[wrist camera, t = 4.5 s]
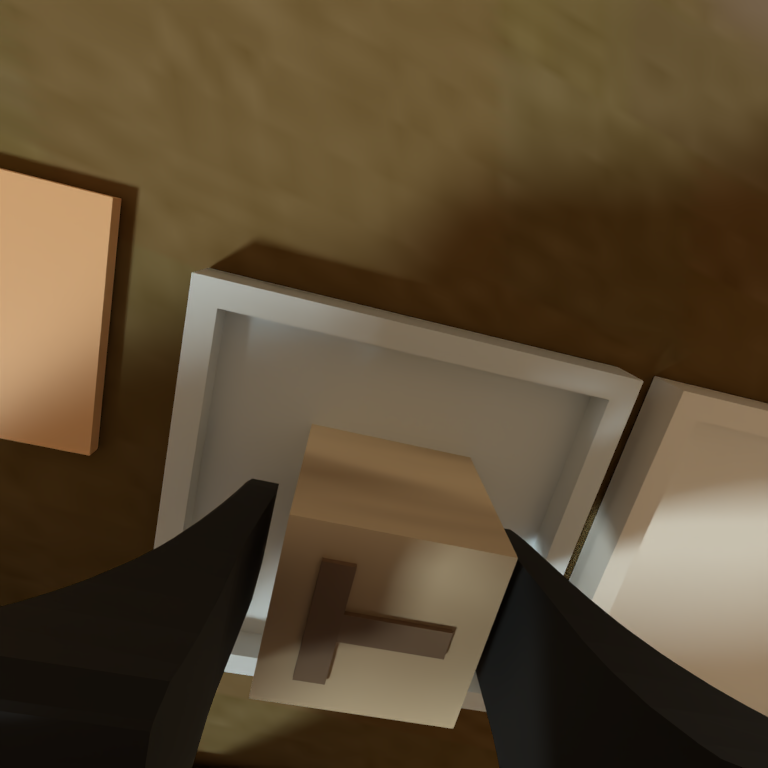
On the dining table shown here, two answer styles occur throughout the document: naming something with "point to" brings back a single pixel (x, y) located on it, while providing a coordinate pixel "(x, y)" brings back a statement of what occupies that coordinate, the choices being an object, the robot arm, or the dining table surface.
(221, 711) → the dining table surface
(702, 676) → the far tray
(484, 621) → the letter cube
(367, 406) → the near tray
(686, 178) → the dining table surface
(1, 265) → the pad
